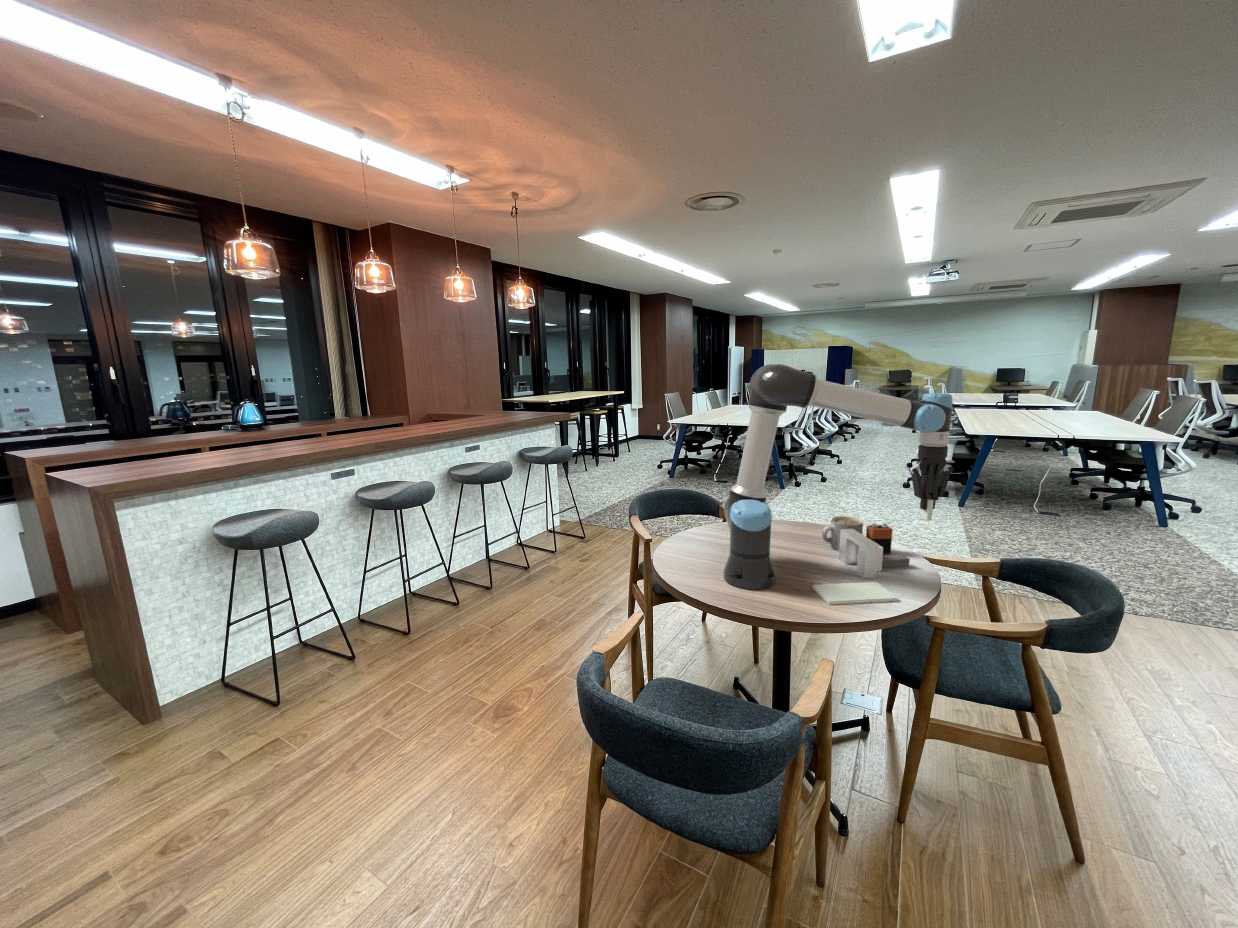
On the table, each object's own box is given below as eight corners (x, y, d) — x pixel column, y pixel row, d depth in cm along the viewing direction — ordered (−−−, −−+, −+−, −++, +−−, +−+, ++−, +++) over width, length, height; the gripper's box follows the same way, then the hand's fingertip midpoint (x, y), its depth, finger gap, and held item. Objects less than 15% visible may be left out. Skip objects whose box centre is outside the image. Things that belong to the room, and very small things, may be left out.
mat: (828, 604, 127) (829, 601, 127) (812, 587, 137) (812, 584, 136) (897, 601, 128) (897, 597, 127) (875, 584, 137) (876, 581, 137)
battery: (864, 550, 164) (866, 522, 162) (884, 549, 164) (886, 522, 162) (870, 554, 159) (873, 526, 158) (891, 554, 159) (893, 526, 157)
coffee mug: (855, 542, 171) (857, 516, 169) (865, 552, 161) (867, 525, 159) (816, 541, 173) (818, 515, 171) (824, 551, 163) (826, 524, 161)
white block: (868, 571, 147) (870, 548, 145) (860, 564, 152) (861, 542, 150) (910, 569, 147) (913, 546, 146) (900, 562, 152) (902, 540, 151)
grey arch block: (863, 578, 142) (866, 545, 140) (838, 559, 156) (840, 529, 154) (876, 577, 142) (879, 544, 140) (850, 558, 157) (852, 528, 155)
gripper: (920, 447, 139) (914, 523, 143) (963, 445, 139) (955, 521, 144) (904, 443, 146) (898, 516, 151) (945, 442, 147) (937, 514, 151)
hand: (926, 519), depth 147 cm, fingers closed
